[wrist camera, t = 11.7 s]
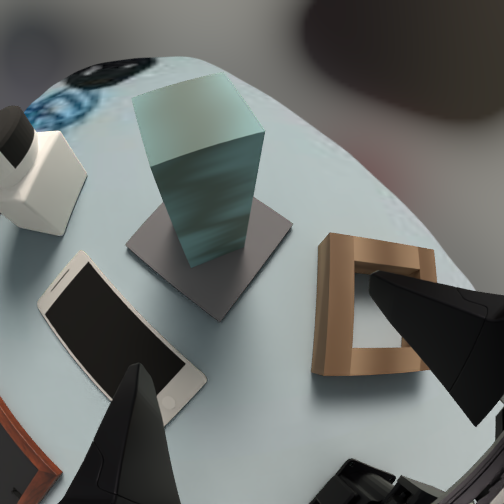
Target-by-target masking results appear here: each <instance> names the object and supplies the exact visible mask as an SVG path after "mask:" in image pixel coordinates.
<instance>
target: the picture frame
mask: <svg viewBox="0 0 504 504" xmlns="http://www.w3.org/2000/svg"><path fill="white" fill-rule="evenodd" d="M62 473H63V472H62V471H61V470H60V469H59V468H58V467H57V466H56V465H55V464H54V463H53V462H52V461H51V460H50V459H49V458H48V457H47V456H46V454H45V453H44V452H43V451H42V450H41V449H40V448H39V447H38V446H37V444H36V443H35V442H34V441H33V440H32V438H31V437H30V436H29V435H28V434H27V432H26V431H25V430H24V429H23V427H22V426H21V425H20V423H19V422H18V421H17V420H16V418H15V417H14V415H13V414H12V413H11V411H10V410H9V408H8V407H7V406H6V404H5V403H4V401H3V400H2V398H1V397H0V504H39V503H40V502H41V500H42V499H43V498H44V496H45V495H46V494H47V492H48V491H49V490H50V488H51V487H52V486H53V485H54V483H55V482H56V481H57V479H58V478H59V477H60V475H61V474H62Z"/></svg>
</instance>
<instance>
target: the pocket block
mask: <svg viewBox="0 0 504 504" xmlns="http://www.w3.org/2000/svg"><path fill="white" fill-rule="evenodd" d="M378 270H381V271H385V272H390V273H394V274H399V275H404V276H408V277H413V278H417V279H422V280H426V281H431V282H435V283H437V277H436V266H435V256H434V250H432V249H427V248H421V247H415V246H410V245H404V244H398V243H393V242H387V241H381V240H375V239H368V238H362V237H356V236H350V235H343V234H337V233H329V234H328V235H327V236H326V238H325V239H324V240H323V241H322V242H321V243H320V245H319V246H318V274H317V298H316V316H315V331H314V345H313V357H312V368H311V372H312V373H315V374H319V375H323V376H353V375H377V374H393V373H405V372H415V371H424V370H430V369H429V368H428V366H427V365H426V364H425V363H424V362H423V360H422V359H421V358H420V357H419V356H418V355H417V353H416V352H415V351H414V350H413V349H412V348H411V346H410V345H409V344H408V343H407V342H406V341H405V339H404V338H403V337H402V346H401V348H352V343H353V323H354V273H360V274H369V275H370V274H371V273H373V272H375V271H378Z"/></svg>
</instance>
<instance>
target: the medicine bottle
mask: <svg viewBox="0 0 504 504" xmlns="http://www.w3.org/2000/svg"><path fill="white" fill-rule="evenodd" d="M86 177H87V172H86V171H85V169H84V168H83V166H82V164H81V163H80V161H79V160H78V158H77V157H76V155H75V154H74V152H73V151H72V149H71V147H70V146H69V144H68V143H67V141H66V139H65V138H64V136H63V135H62V133H61V132H60V131H49V132H37V133H36V131H35V130H34V128H33V127H32V125H31V124H30V122H29V121H28V119H27V117H26V116H25V114H24V113H23V111H22V110H21V108H20V107H18V106H8V107H6V108H4V109H2V110H1V111H0V213H1V214H2V215H4V216H5V217H6V218H7V219H9V220H10V221H11V222H13V223H14V224H15V225H17V226H18V227H19V228H24V229H28V230H33V231H38V232H43V233H48V234H53V235H57V236H62V235H63V234H64V232H65V229H66V226H67V223H68V221H69V218H70V215H71V213H72V210H73V208H74V205H75V203H76V200H77V198H78V195H79V193H80V191H81V188H82V186H83V184H84V181H85V179H86Z"/></svg>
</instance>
